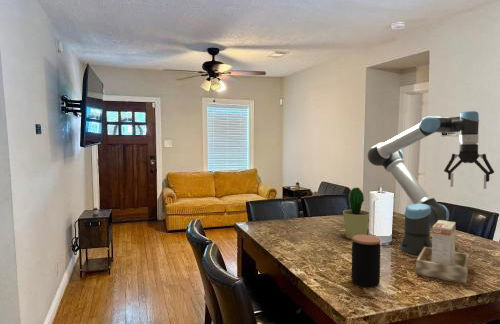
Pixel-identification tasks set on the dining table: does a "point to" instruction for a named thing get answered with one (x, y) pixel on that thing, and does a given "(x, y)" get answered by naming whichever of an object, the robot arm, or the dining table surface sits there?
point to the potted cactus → (356, 215)
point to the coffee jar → (366, 260)
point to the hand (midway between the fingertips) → (467, 187)
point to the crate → (443, 267)
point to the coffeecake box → (443, 242)
